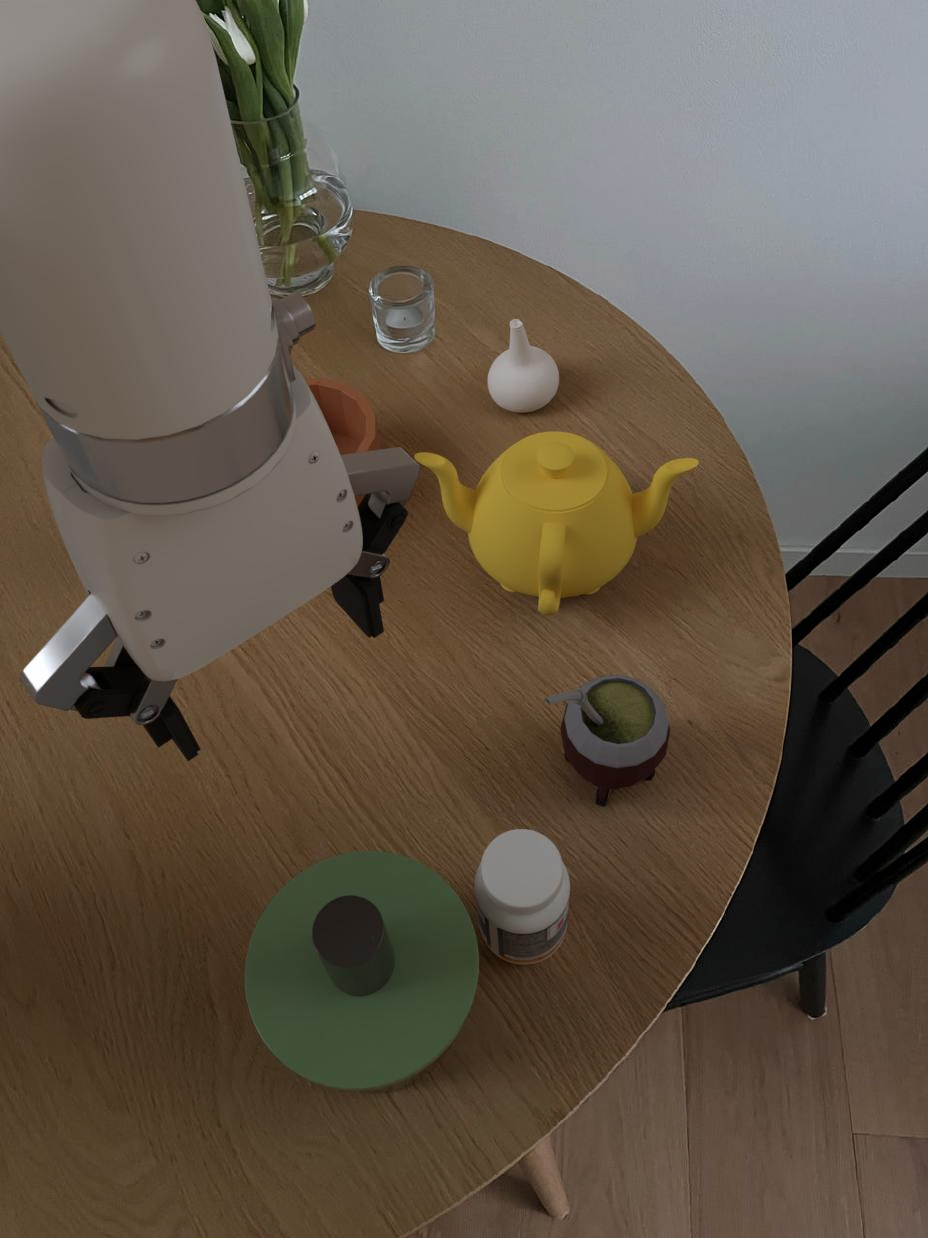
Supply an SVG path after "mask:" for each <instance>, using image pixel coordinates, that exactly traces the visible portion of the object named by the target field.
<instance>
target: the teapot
mask: <svg viewBox="0 0 928 1238" xmlns="http://www.w3.org/2000/svg"><path fill="white" fill-rule="evenodd" d="M414 460H415V461H416V462H417V463H418V464H421V465H422V466H425V468H427V469H429V470H431V471H432V473H434V474H435V475H436V478H437V479H438V483H439V486H440V487H439V488H440V493H441V501H442V506H443V508H444V510H445V511H444V512H445V513H446V515H447V518H449V519H450V522H452V523H453V524H454V525H455V526H456V527H457V528H459V529H461V530H462V531H464V532H466V533H467V537H468V542H469V546H470V549H471V551H472V553H473V555H474V558H475V559H476V560H477V562H478V564H479V565H480V566H481V568H482V569H483V571H485V572H486V573H487V574H488V575H489V576H490V577H491V578H492V579H494V580H495V581H496V582H498V583H499V584H500V586H501V587H502V588H503V590H505V591H507V592H509V593H520V594H523V595H526V596H529V597H530V596H531V597H536V598H538V603H537V611H538V612H539V613H540V614H542V615H544V616H553V615H556V614H557V613H558V611H559V608H560V602H561V599H566V598H572V597H577V596H580V595H592V594H595V593H597V592H598V591H600V589H601V587H603V586H605V585H606V584H608V583H609V582H610V581H612V580H614V578H616V576H618V575H619V574H620V573H621V572H622V570H623V569H624V568H625V567H626V566H627V564H628V563H629V561H630V559H632V556H633V554H634V552H635V549H636V545H637V541H638V538H639V537H641V536H643V535H646V534H647V533H649V532H650V531H652V530H653V529H654V528H655V527H656V526H657V525H658V524H659V523H660V522H661V520H662V518H663V516H664V514H665V511H666V508H667V504H668V500H669V495H670V493H671V492H670V491H671V489H672V486H673V484H674V483H675V481H676V480H677V479H678V478H679V477H680V476H682V475H685V474H686V473H688V472H690V471H692V470H693V469H695V468H697V467H698V465H699V463H700V462H699V460H698V459H697V458H693V457H681V458H675V459H672V460H670V461H667V462H666V463H664V464H662V465H661V466H660V467H659V468H658V469H657V470H656V471H655V472H654V475H653V477H652V480H651V484H650V486H649V487H647V488H645V489H643V490H640V491H638V492H634V493H633V490H632V489H631V487H630V484H629V482H628V480H627V478H626V477H625V475H624V473H623V472H622V470H621V469H620V467H618V465H617V464H616V463H615V462H614V461H613V459H612V458H611V457H610V456H609V455H608V454H607V453H606V452H605V451H604V450H602V449H601V448H600V447H599V446H598V445H596V444H595V443H594V442H592V441H591V440H589V439H587V438H585V437H584V436H581V435H578V434H575V433H571V432H566V431H556V430H555V431H554V430H553V431H552V430H551V431H542V432H538V433H537V432H536V433H533V434H531V435H528V436H525V437H523V438H521V439H520V440H519V441H517V442H515V443H513V444H512V445H511V446H509V447H508V448H507V449H506V450H505V451H503V453H501V454H500V455H499V456H498V457H497V458H496V459H495V460H494V461H493V462H492V463H491V464H490V466H489V467H488V468H487V469H486V471H485V472H484V473H483V475H482V477H481V478H480V480H479V481H478V484H477V486H476V487H475V489H473V488H471V487H468V486H466V485H464V484H462V483H461V482H460V480H459V476H458V472H457V469H456V467H455V466H454V464H453V463H452V462H451V461H450V460H449V459H447V458H446V457H444V456H442V455H441V454H437V453H433V452H424V451H423V452H417V453H415V454H414Z"/></svg>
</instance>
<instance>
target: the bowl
mask: <svg viewBox="0 0 928 1238" xmlns="http://www.w3.org/2000/svg"><path fill="white" fill-rule="evenodd" d="M304 379H305V381H306V383H307V385H308V386H309V388H310V390H311V392H312V394H313V395H314V397H315V399H316V401H317V403H318V405H319V407H320V409H321V411H322V413H323V415H324V418H325V420H326V422H327V424H328V427H329V429H330V431H331V434H332V436H333V438H334V441H335V443H336V445H337V448H338V450H339V452H340V455H345V454H352V453H359V452H366V451H373V450H380V449H382V447H381V440H380V434H379V428H378V422H377V415H376V413H375V411H374V410H373V408H372V406H371V404H370V403H369V401H368V400H367V398H366V397H365V395H363V394H362V393H360V392H358V391H357V390H356V389H354V388H353V387H351V386H350V385H348V384H347V383H345V382H340V381H336V380H331V379H326V378H323V377H309V378H304ZM364 496H365V495H360V496H355V500H356V504H357V507H358V506H359V504H360V503H361V501H362V499H363V498H364Z"/></svg>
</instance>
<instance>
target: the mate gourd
mask: <svg viewBox="0 0 928 1238" xmlns="http://www.w3.org/2000/svg"><path fill="white" fill-rule="evenodd" d="M544 701H545V702H546V703H547V704H548V705H555V704H559V703H563V702H567V704H566V705H565V709H564V712H563V716H562V720H561V724H560V728H559V731H560V737H561V742H562V747H563V751H564V752H563V753H564V760H565V761H566V762H569V763H570V765H571V766H572V767H573V769H574V770H575V772H576V773H577V774H578V775H579V776H580V777H582V778H583V779H584V780H586V781H587V782H589V783H590V784H591V785H593V786H594V787H596V788H597V791H596V795H595V801H594V802H595V805H597V806H600V807H606V806H607V804H608V801H609V796H610V792H611V790H612V791H614V790H619V789H625V788H630V787H633V786H635V785H636V784H638V783H640V782H641V781H643V780H647V781H653V779H654V777H655V776H656V769H657V768H658V766H660V764H661V763H662V762H663V761H664V759H665V757H666V755H667V751H668V746H669V742H670V741H669V740H670V735H671V727H670V721H669V717H668V713H667V710H666V706H665V705H666V704H665V703H664V702H663V701H662V699H661V698H660V697H659V696H658V694H657V693H656V692H655V690H654V689H653V688H652V687H650V686H648V685H647V684H645V683H644V682H642V681H640V680H639V679H637V678H635V677H632V676H626V675H621V674H612V675H603V676H597V677H595V678H594V679H591V680H590V681H588V682H586V683H584V684H582V685H580V686H579V687H578V688H577V689H576V690H575V689H574V690H567V691H563V692H560V693H557V694H554V695H550V696H546V697H544Z"/></svg>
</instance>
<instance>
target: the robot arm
mask: <svg viewBox="0 0 928 1238" xmlns="http://www.w3.org/2000/svg"><path fill="white" fill-rule="evenodd" d="M216 57H217V56H216V54H215V50H214V47H213V43H212V40H211V36H210V32H209V29H208V25H207V22H206V19H205V16H204V14H203V12H202V10H201V8H200V6H199V4H198V2H197V1H196V0H0V334H1V336H2V338H3V340H4V342H5V344H6V346H7V348H8V350H9V351H10V354H11V356H12V357H13V359H14V361H15V363H16V364H17V367H18V369H19V371H20V373H21V375H22V377H23V378H24V379H23V380H24V381H25V383H26V384H27V386H28V388H29V390H30V392H31V394H32V396H33V398H34V400H35V402H36V404H37V406H38V408H39V411H40V413H41V414H42V416H43V418H44V420H45V422H46V425H47V426H48V428H49V430H50V432H51V434H52V436H53V437H52V438H50V439H49V440H48V441H47V442H46V443H45V445H44V447H43V450H42V453H41V469H42V475H43V481H44V486H45V490H46V494H47V497H48V502H49V504H50V508H51V512H52V515H53V518H54V521H55V523H56V526H57V529H58V532H59V534H60V537H61V540H62V542H63V544H64V546H65V549H66V552H67V554H68V557H69V559H70V561H71V563H72V566H73V567H74V569H75V572H76V574H77V575H78V578H79V580H80V582H81V584H82V587H83V588H84V590H85V593H86V595H87V597H86V598H85V599H84V601H82V603H81V604H80V605H79V606H78V607H77V608H76V609H75V611H74V612H73V613H72V614H71V615H70V616H69V617H68V619H67V620H65V622H64V623H63V624H62V625H61V626H60V628H59V629H57V631H56V632H55V633H54V634H53V635H52V637H51V638H50V639H49V640H48V641H47V642H46V643H45V645H44V646H42V648H41V649H40V650H39V652H37V654H36V655H35V656H34V657H33V658H32V659H31V660H30V661H29V663H28V664H27V665H26V666H25V667H24V668H23V669H22V671H21V672H20V675H19V679H20V681H21V682H22V684H23V686H24V687H25V689H26V690H27V692H28V693H29V695H30V697H31V699H33V701H34V702H35V704H36V705H39V706H44V707H47V708H52V709H57V710H60V711H65V712H69V711H74V712H78V714H79V715H80V716H81V718H83V719H84V720H85V719H86V720H93V719H94V720H95V719H107V718H122V717H123V718H124V717H131V719H132V720H133V722H134V723H135V724H136V725H138V726H142V727H143V728H144V730H145V731H146V732H147V734H148V736H149V737H150V738H151V739H152V741H153V743H154V744H155V745H156V747H157V749H158V748H160V747H163V746H164V745H165V744H167V743H168V742H170V741H171V740H172V742H173V743H174V744H175V746H176V747H177V748H178V750H179V751H180V753H181V754H182V756H183V757H184V758H185V759H186V761H187V762H190V761H192V760H193V759H194V758H196V757H197V756H199V753H198V752H199V751H201V747H200V745H199V743H198V741H197V740H196V738H195V736H194V734H193V732H192V730H191V728H190V726H189V725H188V724H189V723H188V722H187V721H186V719H185V717H184V715H183V714H182V711H181V709H180V708H179V707H178V705H177V704H176V702H175V701H174V700H173V698H172V697H171V694H172V692H173V690H174V688H175V686H176V684H177V681H178V680H179V679H182V678H184V677H186V676H189V675H190V674H193V673H195V672H197V671H199V670H200V669H202V668H205V667H206V666H207V665H209V664H211V663H212V662H214V661H216V660H218V659H219V658H221V657H222V656H224V655H226V654H227V653H229V652H231V651H232V650H234V649H235V648H237V647H239V646H240V645H241V644H244V643H245V642H247V641H248V640H250V639H251V638H253V637H254V636H256V635H258V634H259V633H261V632H262V631H265V630H266V629H267V628H269V627H270V626H272V625H273V624H275V623H277V622H279V621H280V620H281V619H283V618H284V617H287V616H288V615H289V614H291V613H293V612H294V611H295V610H297V609H299V608H300V607H303V605H305V604H307V603H308V602H309V601H311V600H312V599H314V598H316V597H317V596H318V595H320V594H321V593H323V592H325V591H326V590H328V589H331V593H332V597H333V599H334V601H335V602H336V604H337V605H338V606H339V607H340V608H341V609H342V610H343V612H344V613H345V614H346V615H347V616H348V617H349V618H350V619H351V620H352V621H353V622H354V624H355V625H356V626H357V628H359V630H361V632H362V633H363V634H364V635H365V636H366V637H367V638H369V639H370V638H371V637H372V638H373V639H376V638H377V637H378V636H380V635H382V634H383V633H384V632H385V629H384V624H383V618H382V617H383V616H382V611H381V607H380V604H382V603H383V602H384V601H385V598H384V592H383V586H382V585H383V584H382V579H381V576H382V575H383V574H384V573H386V571H387V570H388V568H389V566H390V564H391V560H390V559H391V558H389V556H388V555H387V554H386V551H387V550H388V549H389V547H390V546H391V544H392V542H393V541H394V539H395V538H396V536H397V534H398V533H399V531H400V530H401V529H402V527H403V525H404V523H405V522H406V520H407V518H408V510H407V509H406V508H405V505H406V503H407V502H408V501H410V499H411V497H412V494H413V492H414V488H415V486H416V483H417V481H418V479H419V478H418V477H419V475H420V472H421V466H420V463H419V462H418V461H417V460H416V459H415V458H412V456H410V455H409V454H408V453H407V452H406V451H405V450H404V448H402V447H400V446H394V447H393V446H392V447H388V448H381V449H380V450H373V451H366V452H359V453H352V454H345V455H340V452H339V450H338V448H337V445H336V443H335V441H334V438H333V436H332V434H331V431H330V429H329V427H328V424H327V422H326V420H325V418H324V415H323V413H322V411H321V409H320V407H319V405H318V403H317V401H316V399H315V397H314V395H313V394H312V392H311V390H310V388H309V386H308V385H307V383H306V381H305V379H306V378H305V377H304V376H303V375H302V374H301V372H300V371H299V369H297V367H296V366H294V364H293V361H292V357H291V355H292V351H293V348H294V346H295V345H298V344H299V342H300V340H301V339H300V338H302V337H303V336H305V335H307V334H309V333H310V332H311V333H312V332H313V331H314V330H316V327H317V322H316V318H315V315H314V312H313V310H312V308H311V306H310V304H309V302H308V301H307V300H306V298H305V297H304V296H303V295H302V294H301V293H300V292H298V291H294V292H292V293H290V294H288V295H286V296H284V297H283V298H280V299H279V298H277V297H273V298H272V297H271V293H270V288H269V284H268V280H267V275H266V271H265V267H264V263H263V258H262V254H261V250H260V249H261V248H260V245H259V240H258V235H257V230H256V227H255V221H254V218H253V214H252V209H251V205H250V200H249V196H248V192H247V191H248V190H247V187H246V183H245V178H244V173H243V170H242V165H241V161H240V157H239V153H238V148H237V144H236V139H235V135H234V130H233V126H232V122H231V118H230V113H229V109H228V105H227V99H226V95H225V92H224V91H225V90H224V87H223V83H222V79H221V75H220V74H221V73H220V70H219V65H218V60H217V58H216ZM360 495H365V496H364V498H363V499H362V501H361V503H360V504H359V506H358V507H357V504H356V500H355V496H360ZM112 643H113V645H112V648H111V650H110V652H109V654H108V657H107V658H106V662H105V664H104V666H93V664H94V663H95V662H96V661H97V660H98V658H100V656H101V655H102V654H103V653H104V652H105V651H106V650H107V649H108V648H109V646H110V645H111V644H112Z"/></svg>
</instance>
